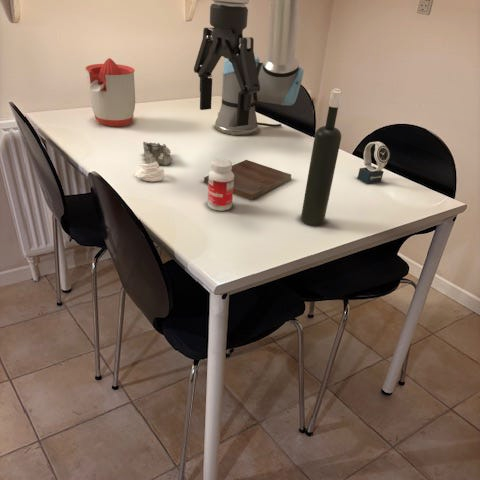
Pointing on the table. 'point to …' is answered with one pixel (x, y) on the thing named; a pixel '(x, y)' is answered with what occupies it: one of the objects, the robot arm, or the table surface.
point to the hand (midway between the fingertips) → (223, 117)
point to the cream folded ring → (150, 172)
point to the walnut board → (255, 179)
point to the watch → (370, 172)
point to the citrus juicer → (112, 93)
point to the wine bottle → (322, 166)
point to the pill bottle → (220, 185)
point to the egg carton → (156, 153)
